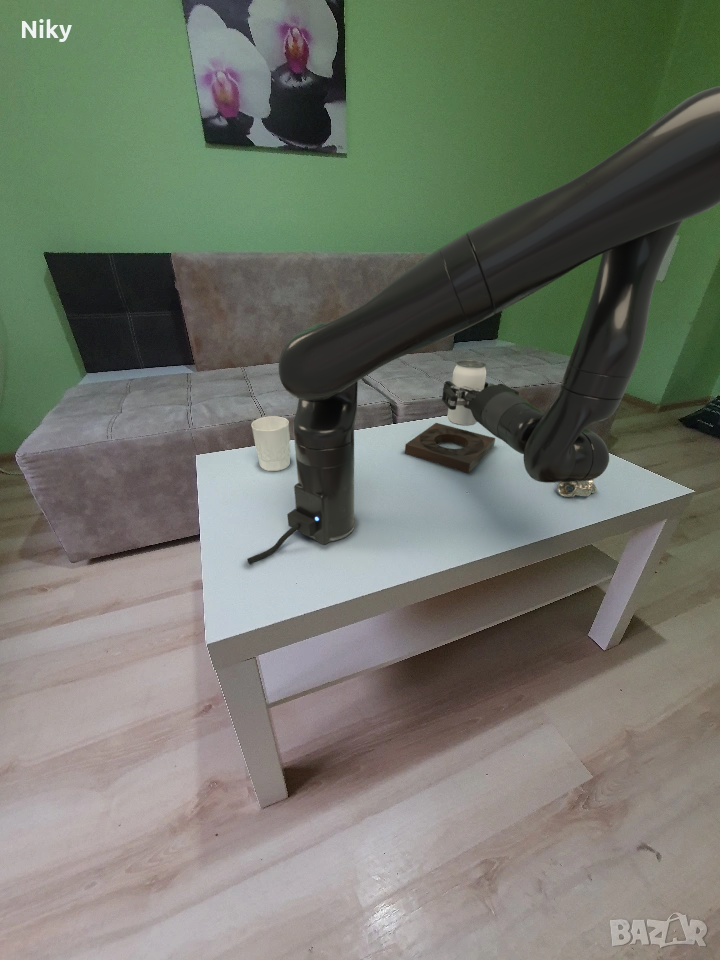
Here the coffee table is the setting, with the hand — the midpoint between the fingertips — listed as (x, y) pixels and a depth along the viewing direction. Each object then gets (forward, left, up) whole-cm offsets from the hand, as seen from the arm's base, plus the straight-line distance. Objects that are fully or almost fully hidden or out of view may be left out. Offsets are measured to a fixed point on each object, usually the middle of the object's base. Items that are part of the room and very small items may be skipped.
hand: (462, 384), depth 81 cm
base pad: (+4, +2, -18) cm, 18 cm away
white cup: (-26, +31, -18) cm, 44 cm away
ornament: (+2, -26, -18) cm, 31 cm away
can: (-2, -2, -7) cm, 8 cm away
